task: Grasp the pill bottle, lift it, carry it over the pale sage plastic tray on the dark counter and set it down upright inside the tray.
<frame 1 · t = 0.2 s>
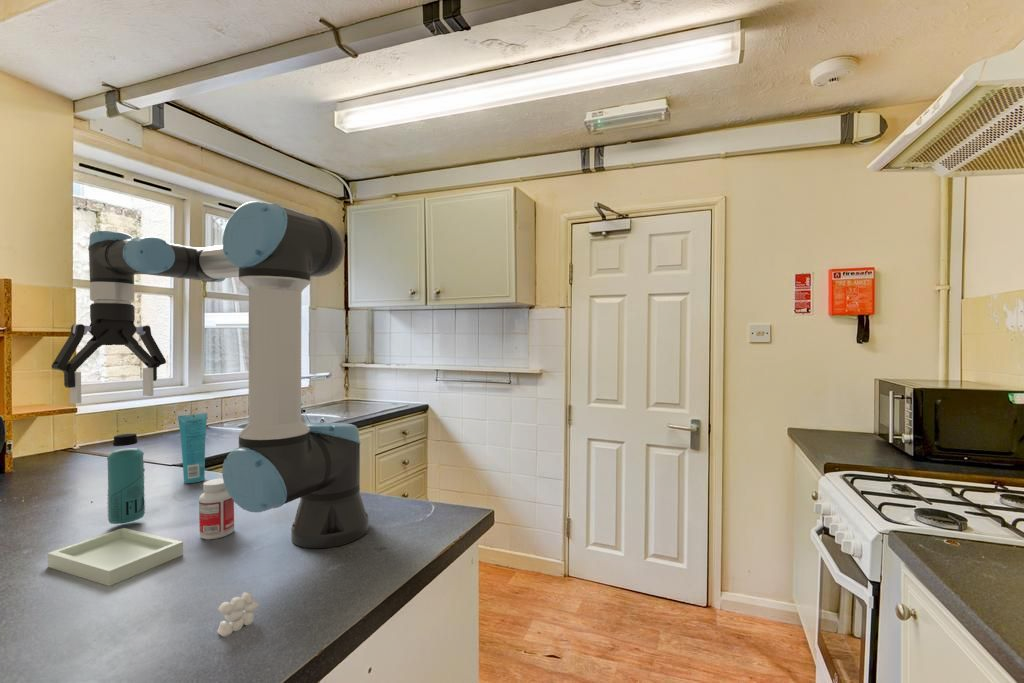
hand: (114, 399, 104), 28 cm above the counter, fingers open, 13 cm apart
tray: (117, 560, 87), on the counter
pill bottle: (217, 535, 99), on the counter
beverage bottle: (126, 526, 103), on the counter
white bumpy cluster: (238, 628, 67), on the counter
tube: (193, 481, 135), on the counter
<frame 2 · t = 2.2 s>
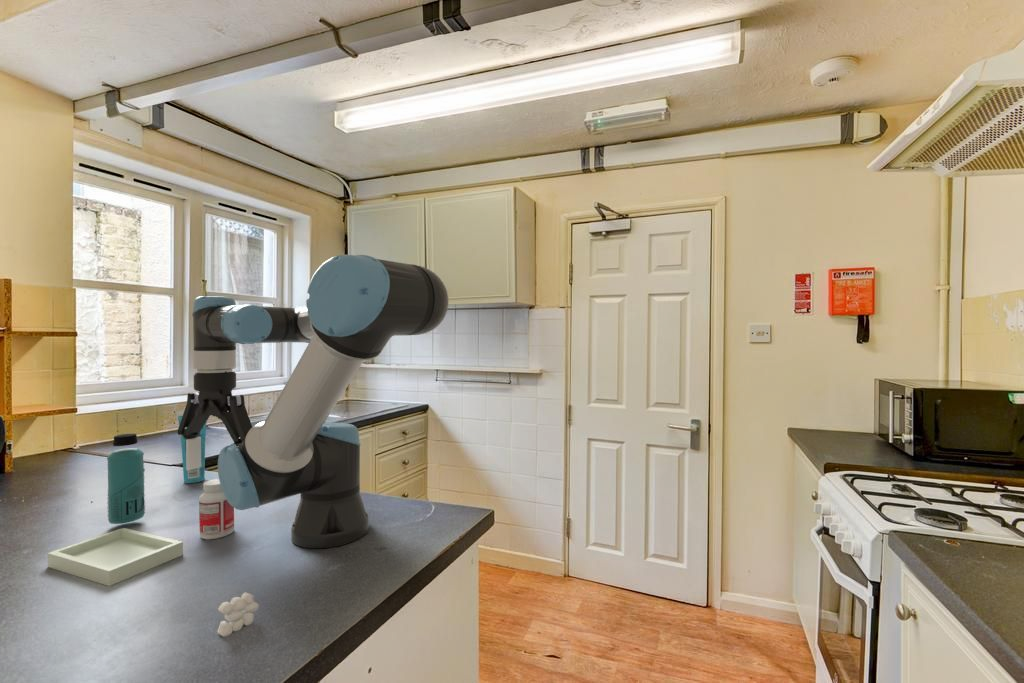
hand: (215, 472, 99), 13 cm above the counter, fingers open, 13 cm apart
nothing on the counter moved.
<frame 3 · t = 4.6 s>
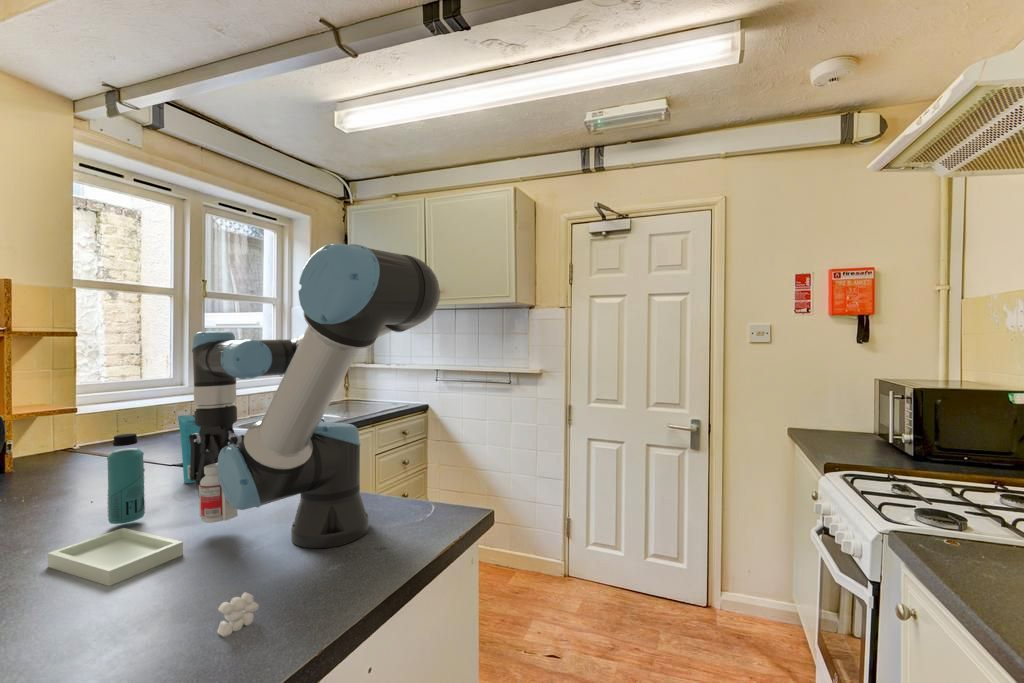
hand: (218, 516, 98), 4 cm above the counter, fingers closed on pill bottle, 6 cm apart
pill bottle: (218, 518, 98), point 3 cm above the counter, touching gripper
everything else where it was.
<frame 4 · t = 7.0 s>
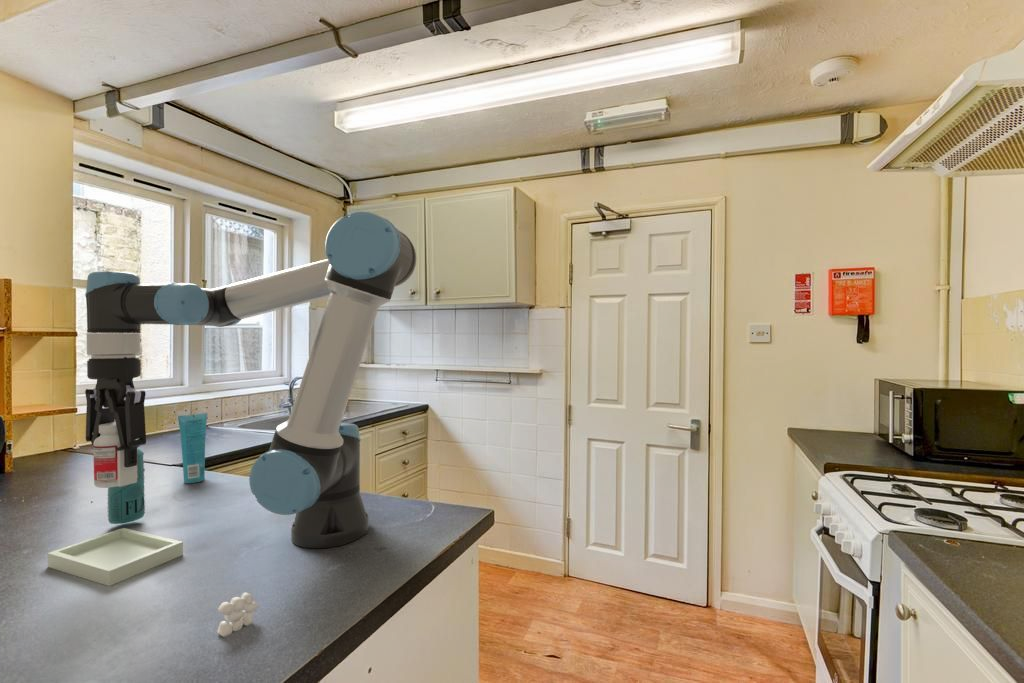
hand: (115, 481, 87), 15 cm above the counter, fingers closed on pill bottle, 6 cm apart
pill bottle: (116, 484, 87), point 14 cm above the counter, touching gripper
everything else where it was.
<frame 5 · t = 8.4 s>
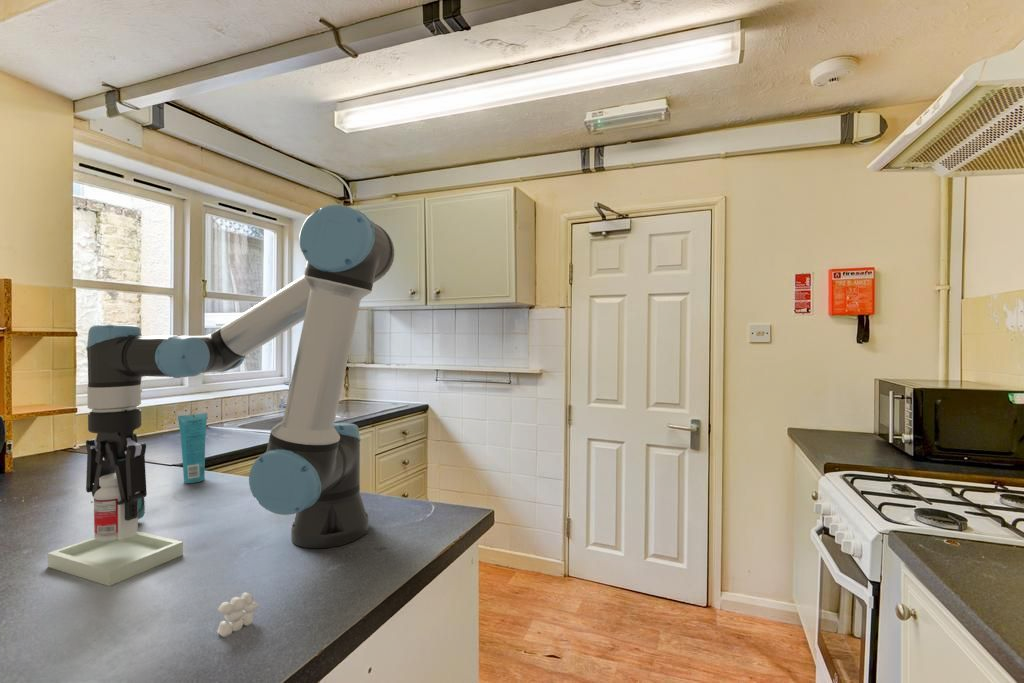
hand: (116, 533, 87), 5 cm above the counter, fingers closed on pill bottle, 6 cm apart
pill bottle: (116, 536, 87), point 5 cm above the counter, touching gripper
everything else where it was.
when the fingers open (2 cm above the counter, at t = 9.4 s): pill bottle drops 1 cm, resting on tray.
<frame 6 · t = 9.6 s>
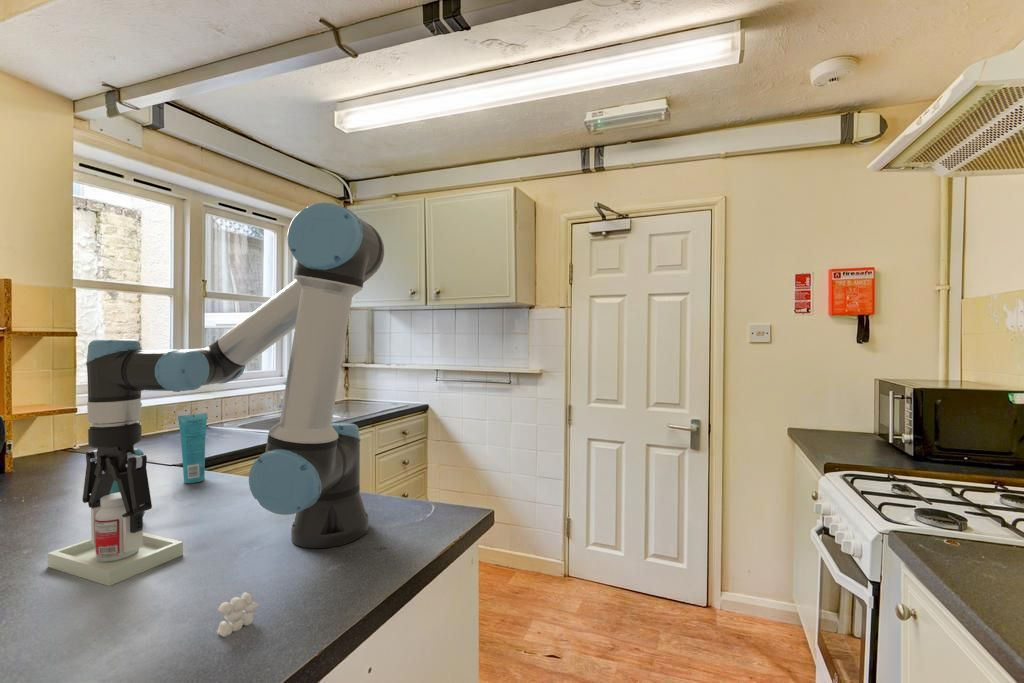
hand: (117, 544, 87), 3 cm above the counter, fingers open, 9 cm apart
pill bottle: (117, 556, 87), point 1 cm above the counter, touching tray
everything else where it was.
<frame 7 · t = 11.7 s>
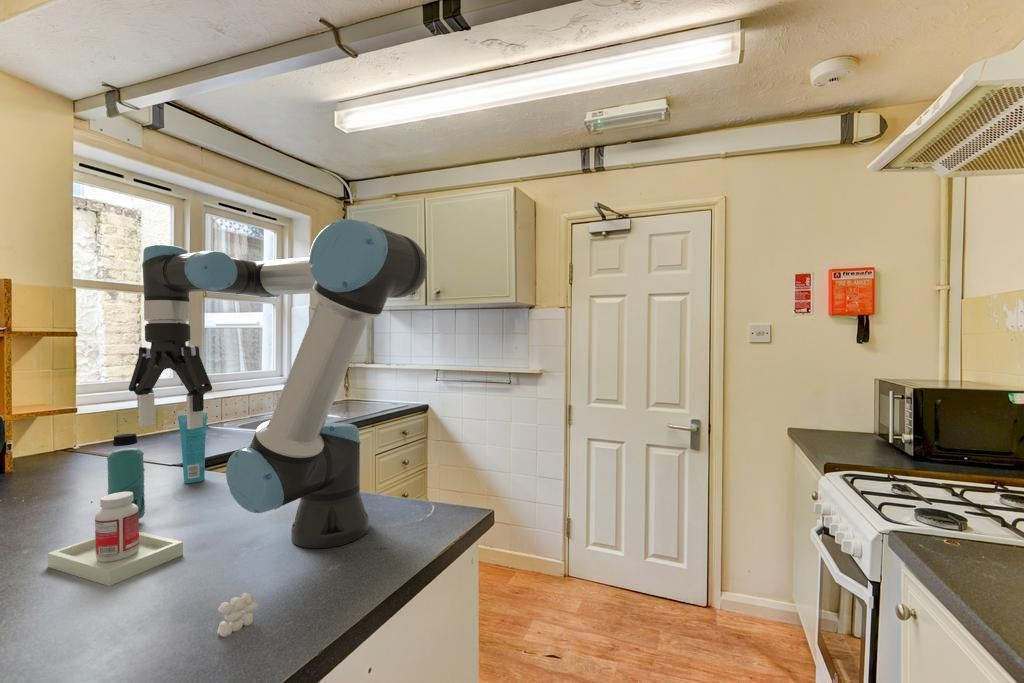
hand: (170, 426, 96), 23 cm above the counter, fingers open, 13 cm apart
nothing on the counter moved.
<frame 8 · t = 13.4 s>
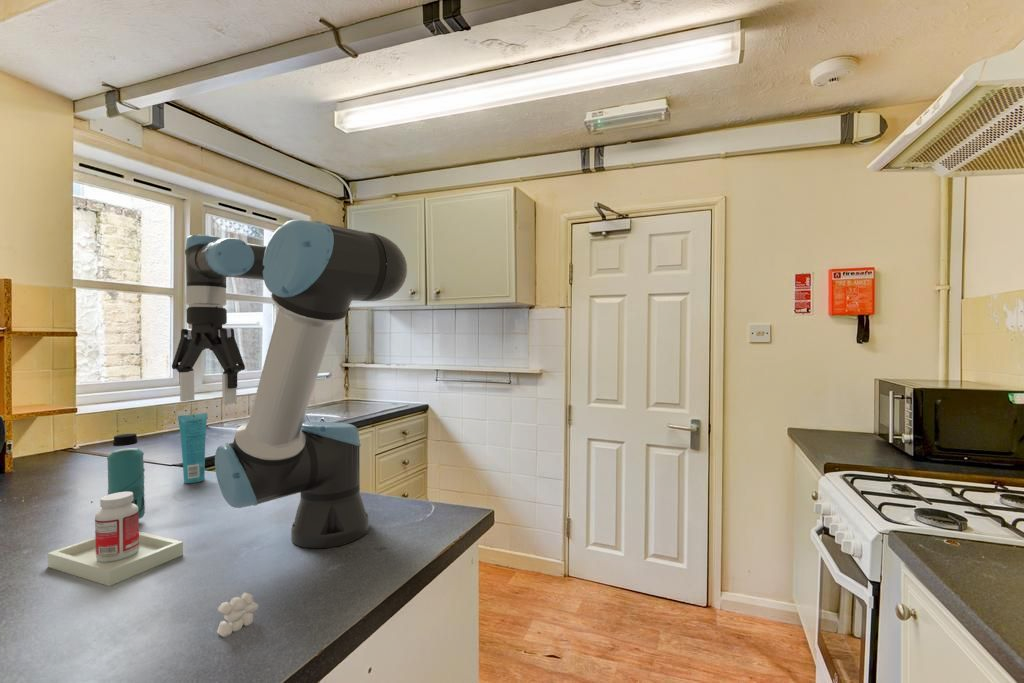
hand: (207, 402, 105), 27 cm above the counter, fingers open, 13 cm apart
nothing on the counter moved.
at the end: pill bottle inside the target area on the tray (0.1 cm from its centre), point 0.8 cm above the tray's base; pill bottle tilted 0°; the gripper is holding nothing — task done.
